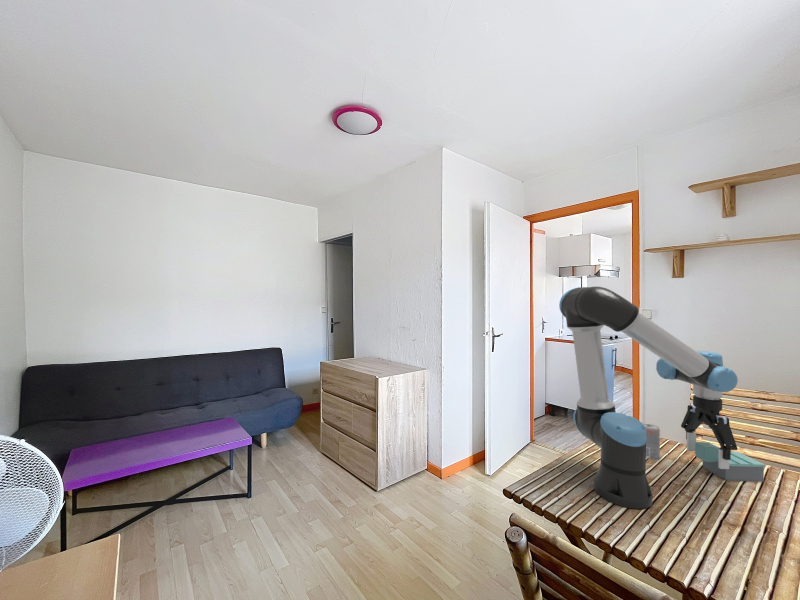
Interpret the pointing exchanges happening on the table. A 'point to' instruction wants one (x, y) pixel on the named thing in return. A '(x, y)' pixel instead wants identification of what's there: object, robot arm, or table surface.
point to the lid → (711, 454)
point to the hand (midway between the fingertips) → (706, 459)
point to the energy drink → (652, 441)
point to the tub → (736, 472)
